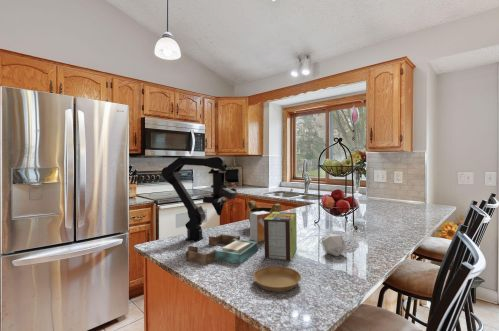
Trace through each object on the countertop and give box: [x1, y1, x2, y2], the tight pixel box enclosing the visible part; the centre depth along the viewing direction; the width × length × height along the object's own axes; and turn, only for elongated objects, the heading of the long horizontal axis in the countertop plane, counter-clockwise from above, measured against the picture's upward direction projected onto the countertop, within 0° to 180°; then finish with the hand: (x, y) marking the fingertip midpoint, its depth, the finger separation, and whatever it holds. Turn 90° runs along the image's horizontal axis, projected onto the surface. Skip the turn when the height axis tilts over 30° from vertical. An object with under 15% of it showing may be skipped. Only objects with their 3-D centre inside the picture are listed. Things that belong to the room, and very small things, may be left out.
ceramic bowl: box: [247, 200, 282, 223], centre depth 147 cm, size 22×17×15 cm
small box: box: [249, 211, 271, 243], centre depth 127 cm, size 8×6×13 cm
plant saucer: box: [252, 265, 302, 293], centre depth 82 cm, size 15×15×3 cm
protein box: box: [263, 211, 298, 262], centre depth 108 cm, size 10×15×16 cm
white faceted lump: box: [321, 232, 347, 257], centre depth 106 cm, size 8×9×10 cm
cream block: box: [221, 241, 250, 253], centre depth 107 cm, size 7×10×4 cm
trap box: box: [185, 233, 259, 265], centre depth 109 cm, size 24×26×4 cm
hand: (219, 215), depth 127 cm, fingers closed
